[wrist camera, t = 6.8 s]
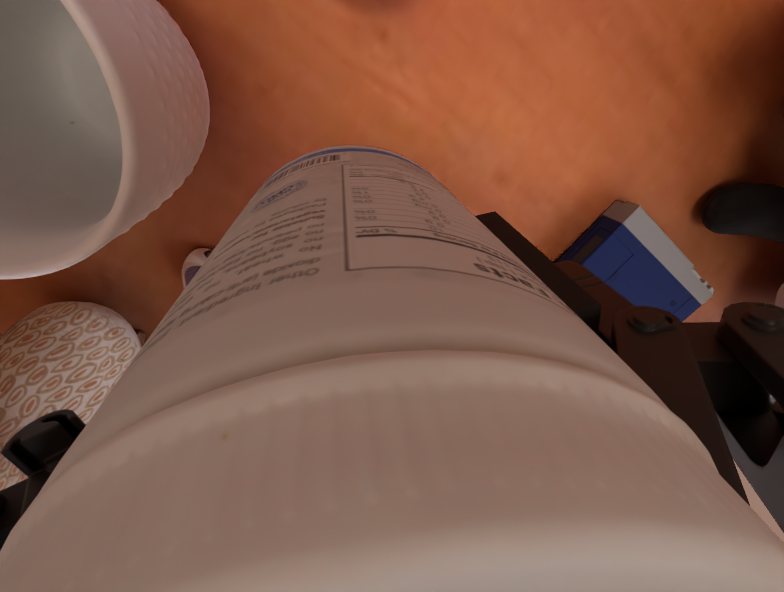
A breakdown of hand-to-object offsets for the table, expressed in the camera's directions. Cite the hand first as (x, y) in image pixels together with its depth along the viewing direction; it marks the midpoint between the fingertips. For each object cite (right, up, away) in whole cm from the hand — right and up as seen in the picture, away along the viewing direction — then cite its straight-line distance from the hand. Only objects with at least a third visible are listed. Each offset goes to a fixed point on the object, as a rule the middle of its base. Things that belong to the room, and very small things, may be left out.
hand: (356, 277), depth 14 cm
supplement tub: (0, +1, +3) cm, 3 cm away
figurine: (-20, -3, +14) cm, 24 cm away
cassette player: (+16, +3, +13) cm, 21 cm away
